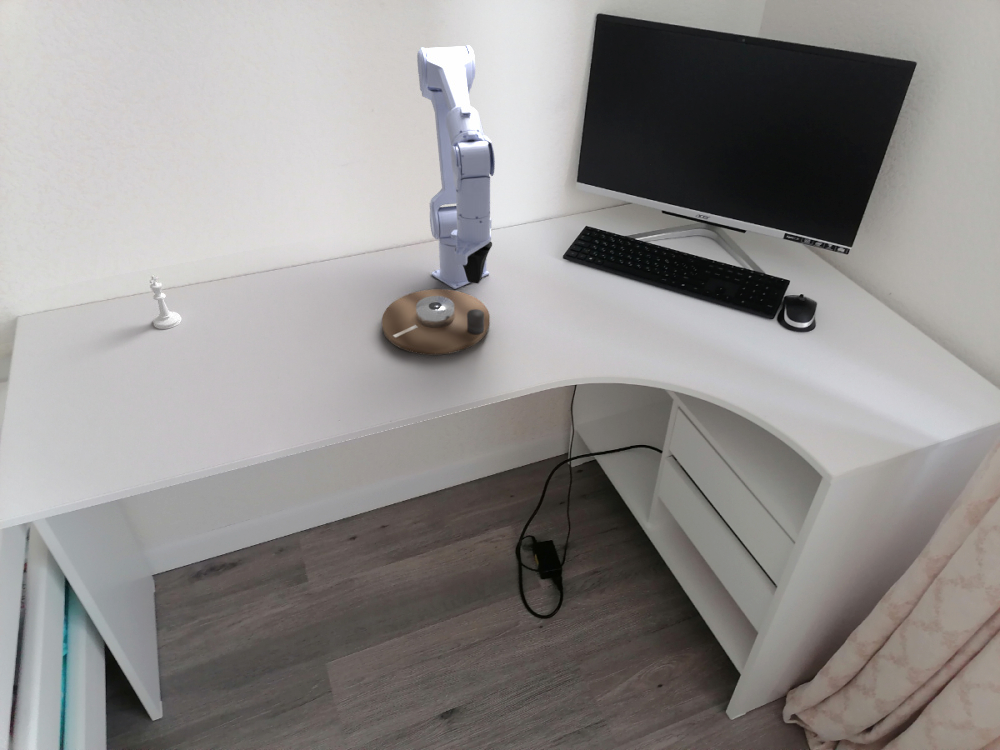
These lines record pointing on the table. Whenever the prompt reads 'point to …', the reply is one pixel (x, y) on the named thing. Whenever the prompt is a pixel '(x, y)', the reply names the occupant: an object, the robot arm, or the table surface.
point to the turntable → (434, 341)
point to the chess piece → (163, 308)
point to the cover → (435, 311)
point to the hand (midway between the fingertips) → (474, 281)
